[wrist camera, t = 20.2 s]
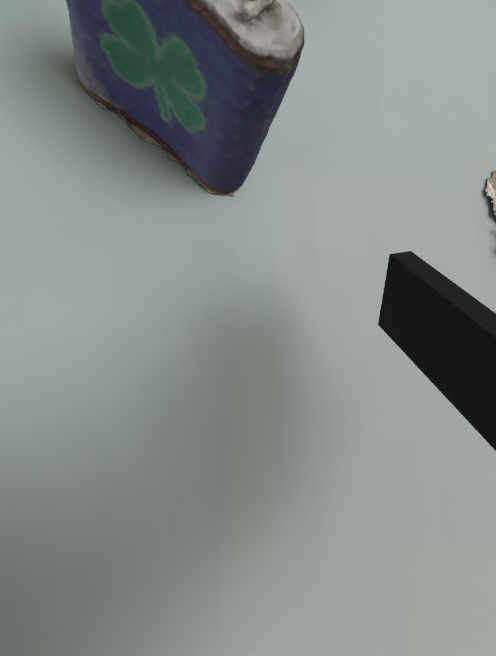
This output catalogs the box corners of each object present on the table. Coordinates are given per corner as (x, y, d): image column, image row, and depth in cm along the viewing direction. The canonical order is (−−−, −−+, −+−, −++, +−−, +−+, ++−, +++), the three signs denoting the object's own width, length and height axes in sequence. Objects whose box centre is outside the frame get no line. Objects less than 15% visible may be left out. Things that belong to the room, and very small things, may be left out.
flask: (65, 80, 21) (2, -235, 11) (108, 42, 22) (86, -284, 12) (224, 209, 22) (305, 29, 12) (260, 167, 23) (365, -34, 12)
